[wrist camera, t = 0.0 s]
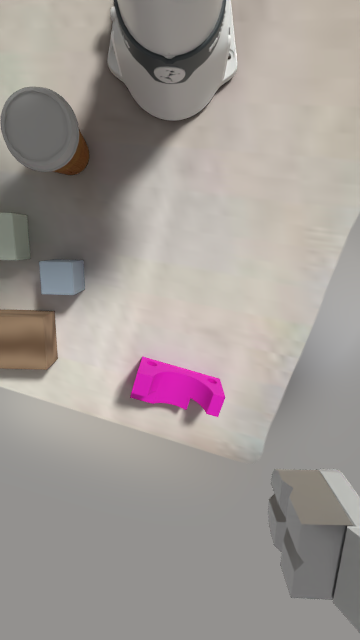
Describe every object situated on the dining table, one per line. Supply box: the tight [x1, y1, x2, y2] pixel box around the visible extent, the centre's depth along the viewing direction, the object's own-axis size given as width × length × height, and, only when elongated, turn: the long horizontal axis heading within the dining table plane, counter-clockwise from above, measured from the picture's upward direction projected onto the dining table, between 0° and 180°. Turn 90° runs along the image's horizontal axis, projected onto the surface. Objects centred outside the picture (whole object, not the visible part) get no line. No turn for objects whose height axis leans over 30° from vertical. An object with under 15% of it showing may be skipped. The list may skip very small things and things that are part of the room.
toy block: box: [130, 357, 225, 417], centre depth 56 cm, size 15×6×8 cm, turn 73°
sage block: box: [0, 213, 30, 260], centre depth 51 cm, size 7×7×5 cm
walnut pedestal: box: [0, 309, 58, 370], centre depth 55 cm, size 9×12×5 cm
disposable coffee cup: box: [1, 87, 89, 175], centre depth 44 cm, size 10×10×12 cm
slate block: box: [39, 259, 85, 295], centre depth 52 cm, size 5×5×6 cm
